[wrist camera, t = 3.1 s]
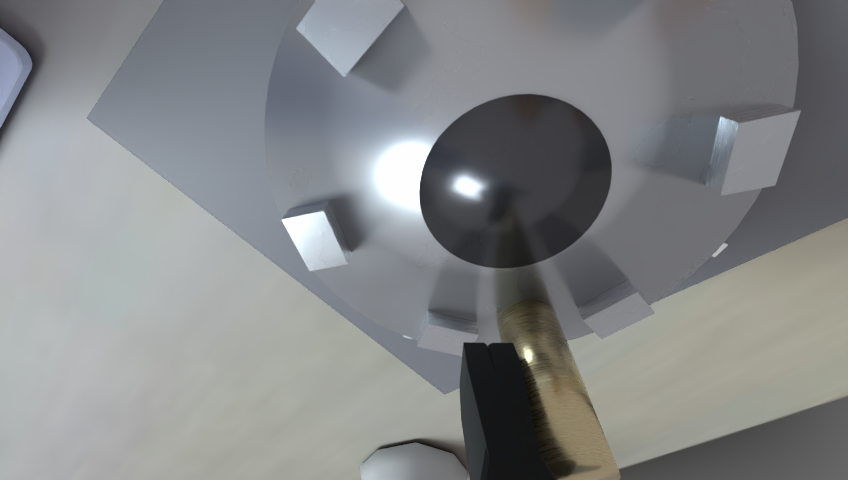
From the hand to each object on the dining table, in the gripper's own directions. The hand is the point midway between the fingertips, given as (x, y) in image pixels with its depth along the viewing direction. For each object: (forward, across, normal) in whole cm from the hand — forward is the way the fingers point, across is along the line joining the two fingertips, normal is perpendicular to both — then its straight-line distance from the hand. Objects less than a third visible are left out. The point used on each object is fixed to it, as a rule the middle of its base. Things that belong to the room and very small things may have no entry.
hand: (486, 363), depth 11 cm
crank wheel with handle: (+4, 0, -5) cm, 6 cm away
